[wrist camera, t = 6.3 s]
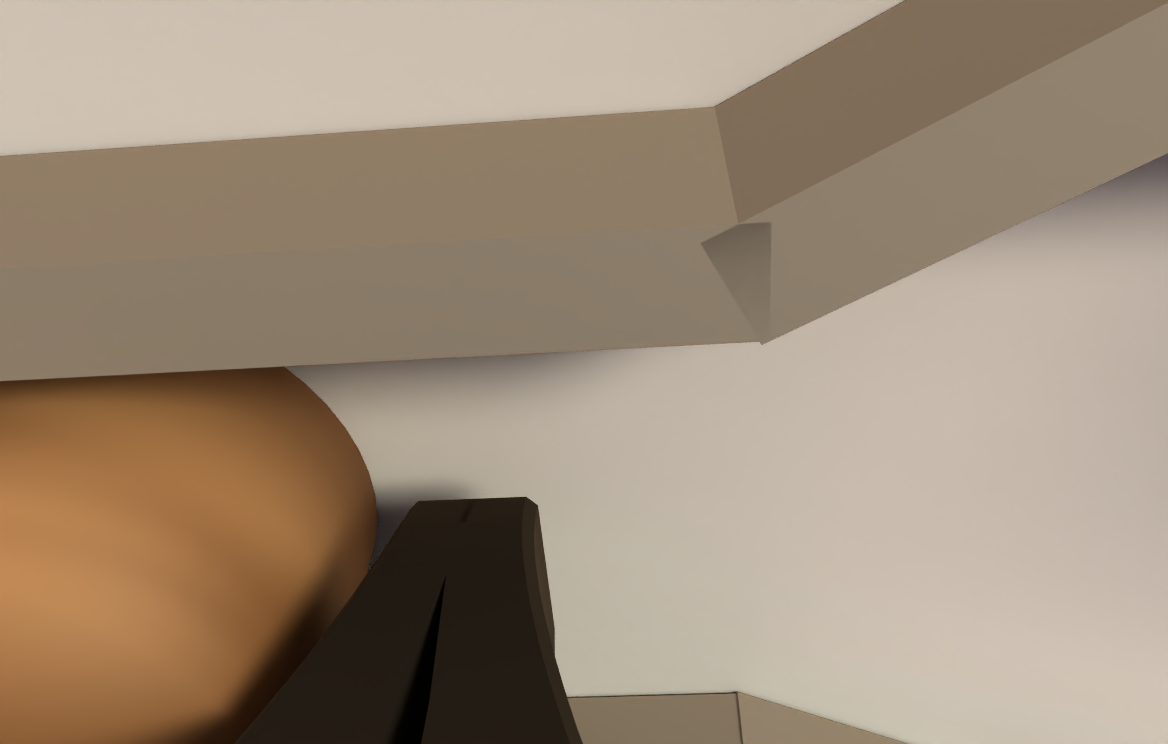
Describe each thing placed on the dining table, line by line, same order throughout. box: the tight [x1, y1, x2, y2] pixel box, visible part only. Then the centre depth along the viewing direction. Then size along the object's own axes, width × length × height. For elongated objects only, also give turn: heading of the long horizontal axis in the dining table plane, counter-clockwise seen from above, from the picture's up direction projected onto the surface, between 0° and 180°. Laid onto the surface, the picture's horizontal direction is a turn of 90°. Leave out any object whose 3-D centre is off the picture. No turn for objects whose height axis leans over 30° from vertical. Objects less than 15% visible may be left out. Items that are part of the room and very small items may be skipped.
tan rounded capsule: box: [0, 366, 378, 744], centre depth 11 cm, size 5×5×4 cm
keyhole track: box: [0, 0, 1168, 744], centre depth 11 cm, size 21×12×2 cm, turn 95°
